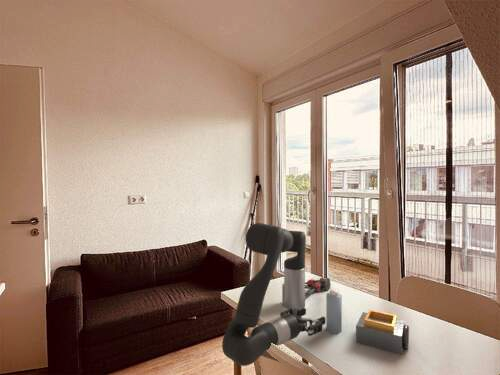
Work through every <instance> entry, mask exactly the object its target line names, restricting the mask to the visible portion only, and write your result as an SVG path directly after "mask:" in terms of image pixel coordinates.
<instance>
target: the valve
mask: <svg viewBox="0 0 500 375" xmlns="http://www.w3.org/2000/svg"><path fill="white" fill-rule="evenodd" d="M305 285H307V286H305V300H306V299H307V298H308V297H310V295H311V294H313V293H318V292H320V291H321V288H322V289H325V291H327V292H328V291H330V290H331V286H332V285H331V279H330V278H329V277H326V278H325V277H320V278H319V279H316V280H315V279H313V278H312V279H311V278H310V279H308V280H307V281H305ZM307 289H308V290H307ZM329 289H330V290H329Z"/></svg>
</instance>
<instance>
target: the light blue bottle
mask: <svg viewBox="0 0 500 375" xmlns="http://www.w3.org/2000/svg"><path fill="white" fill-rule="evenodd" d="M342 298H343V295H342V294H341V293H339V290H338V289H334V288H333V289H331V288H330V290H329V292H327V293H326V307H325V308H326V310H325V311H326V315H325V325H326V326H325V327H326V331H327V332H329V333H332V334H340V333H342V329H343V328H342V327H343V326H342V325H343V324H342V323H343V320H342V319H343V318H342V317H343V308H342V306H343V304H342V303H343V302H342V301H343V299H342Z"/></svg>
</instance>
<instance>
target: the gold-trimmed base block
mask: <svg viewBox="0 0 500 375" xmlns="http://www.w3.org/2000/svg"><path fill="white" fill-rule="evenodd" d="M397 317H398V316H397V315H396V314H391V313H387V312H382V311H378V310H377V311H376V310H372V309H369V310H368V311H367V312H366V311H365V312H364V311H363V312H362V313H361V315H360V317H359V319H358V320H357V323H356V324H355V343H356V344H360V345H363V346H366V347H370V348H375V349H378V350H381V351H386V352H389V353H392V354H396V355H400V356H402V354H403V351H404V350H403V349H404V348H405V349H409V345H410V326H409V325H407V324H406V321H405V320H401V319H398V318H397Z"/></svg>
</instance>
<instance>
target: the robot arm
mask: <svg viewBox="0 0 500 375" xmlns="http://www.w3.org/2000/svg"><path fill="white" fill-rule="evenodd" d="M306 240H307V235H306V234H305V231H300V230H299V231H298V230H288V229H286V228H282V227H279V226H276V225H271V224H266V223H261V222H256V223H253V224H251V226H249V228H248V230H247V231H246V234H245V244H246V247H247V248H248V250H249V251H251V252H253V253H257V254H260V255H261V254H262V255H266V258H265V262H264V264H263V265H262V267H261V269H260V270H258V271H257V273H256V274H255V275H254V277H252V278H251V279H250V280H249V281H248V282H247V283H246V284H245V285H244V287H243V289H242V291H241V293H240V295H239V297H238V298H239V299H238V301H237V302H238V303H237V307H236V309H235V314H234V316H233V318H232V319H231V322H230V324H229V325H228V328H227V329H226V330H225V333H224V336H223V337H222V338H223V339H222V344H221V345H222V346H221V347H222V353H223V354H224V356H226V357H227V358H228V359H230V360H231V361H232V362H234V363H235V364H238V365H239V366H241V367H247V366H250V365H252V364H254V363H255V362H256V361H257V360H258V359H259V358H260V357H261V356H262V355H263V354H264V353H265V352H266V351H268V349H269V348H270V346H271V343H273V344H275V345H277V346H276V347H278V346H280V345H283V344H286V343H287V342H290V341H291V340H294V339H296V338H297V337H298V336H299V335H300V333H302V332H306V333H307V336H309V337H312V336H314V335H316V334H319V333H321V332H322V331H323V325H326V316H321V317H319V318H316V319H312V318H311V317H310V318H309V317H303V316H306V314H307V309H306V308H305V307H306V299H305V292H306V289H305V287H306V284H305V282H306V246H307V245H306V244H307V243H306V242H307V241H306ZM286 252H289V253H296V255H294V256H292V257H289V258H286V259H285V260H284V261H283V283H282V288H281V290H282V292H281V293H282V294H281V295H282V296H281V297H282V298H281V300H282V301H281V306H283V307H285V308H286V309H287V310H283V311H282V312H280V313H279V315H280V316H277V317H275V318H271V319H270V320H268V321H267V322H265V323H262V324H260V325H258V323H259V321H260V317H261V313H262V308H263V303H264V300H265V296H266V293H267V291H268V287H269V284H270V282H271V279H272V276H273V274H274V272H275V270H276V266H277V263H278V260H279V258H280V255H281V253H282V254H283V253H286ZM249 328H250V329H251V328H252V330H251V331H250V335H249V336H246V332H247V330H248V329H249ZM269 350H270V349H269Z"/></svg>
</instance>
